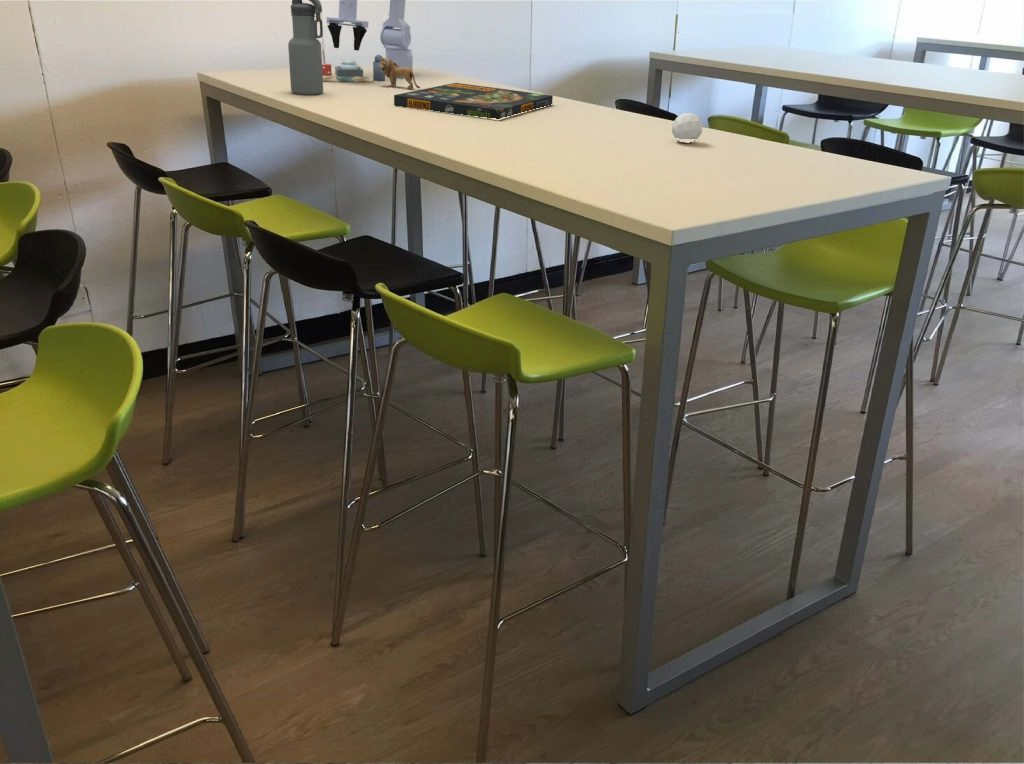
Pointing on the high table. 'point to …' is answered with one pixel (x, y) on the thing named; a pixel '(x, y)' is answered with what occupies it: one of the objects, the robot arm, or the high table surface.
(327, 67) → the red die
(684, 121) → the geometric ball
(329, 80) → the track
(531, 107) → the board game box
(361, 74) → the dome frame
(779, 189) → the high table surface
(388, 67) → the lion figurine
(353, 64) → the dome
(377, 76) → the pawn
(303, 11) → the water bottle
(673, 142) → the high table surface
